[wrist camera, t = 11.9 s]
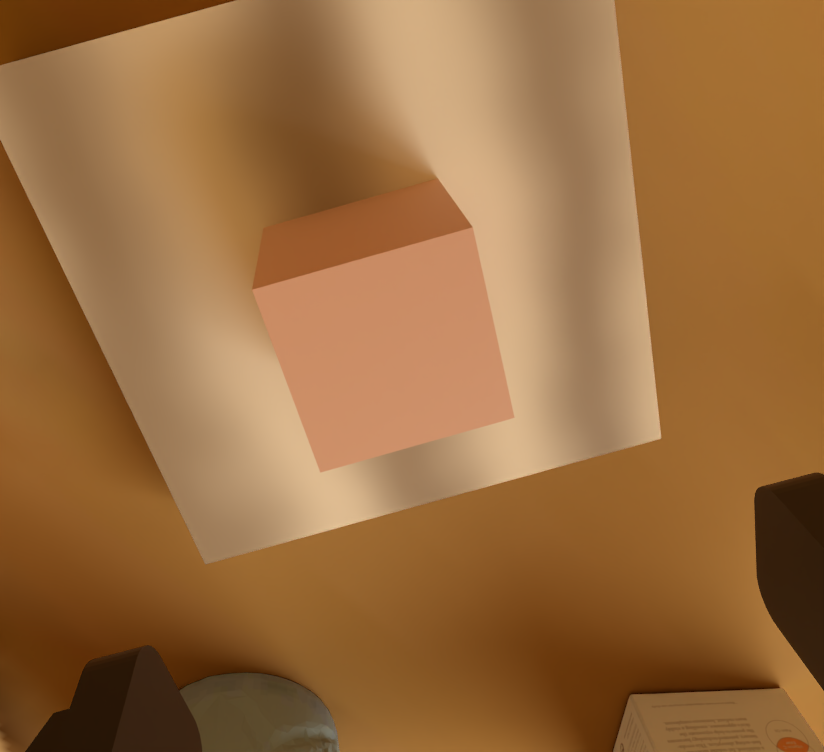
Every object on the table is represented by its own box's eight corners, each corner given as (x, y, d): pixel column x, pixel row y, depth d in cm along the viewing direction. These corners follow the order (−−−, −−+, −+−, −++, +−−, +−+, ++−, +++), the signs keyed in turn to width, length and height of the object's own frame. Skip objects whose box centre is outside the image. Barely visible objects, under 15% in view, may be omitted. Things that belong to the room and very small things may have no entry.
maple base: (566, -90, 21) (603, -101, 19) (628, 397, 29) (661, 438, 26) (11, 64, 21) (-32, 73, 19) (214, 511, 29) (205, 564, 26)
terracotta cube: (437, 178, 21) (472, 227, 17) (475, 337, 23) (514, 417, 19) (263, 228, 21) (252, 289, 17) (317, 382, 24) (320, 472, 19)
